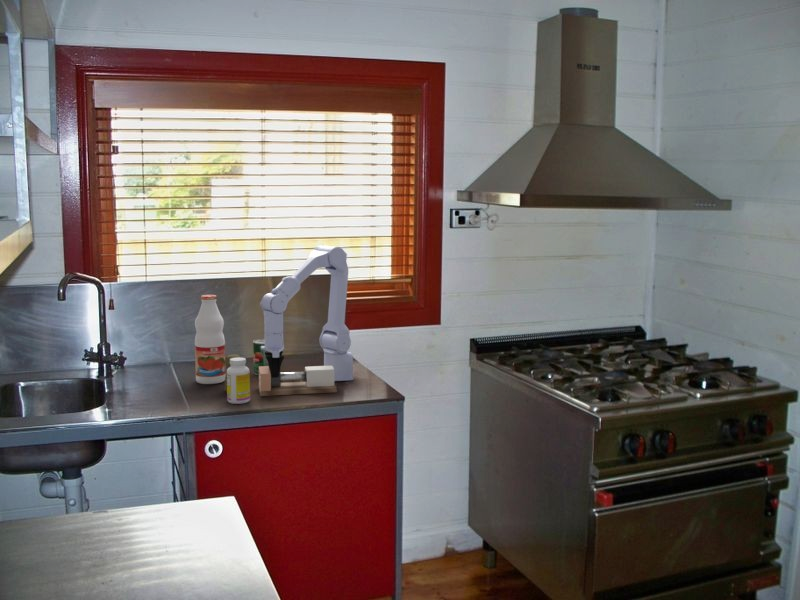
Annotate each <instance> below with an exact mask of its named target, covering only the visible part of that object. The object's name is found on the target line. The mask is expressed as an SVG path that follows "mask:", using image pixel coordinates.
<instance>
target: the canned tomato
mask: <svg viewBox="0 0 800 600" xmlns="http://www.w3.org/2000/svg"><path fill="white" fill-rule="evenodd" d="M252 346H253V347H252V351H253V352H252V354H253V374H254V375H256V376H259V366H269V364H268V361H267V359H266V356H265V353H264V351H266V350H261V346H265V338H259V339H258V338H257V339H253V340H252Z"/></svg>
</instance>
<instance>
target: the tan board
mask: <svg viewBox="0 0 800 600" xmlns="http://www.w3.org/2000/svg"><path fill="white" fill-rule="evenodd" d="M257 384H258V388H257V389H258V391H259V396H260V397H266V396H267V397H268V396H269V397H270V396H283V395H284V396H285V395H288V396H290V395H303V394H304V395H306V394H307V395H310V394H328V393H337V392H338V389H337V388H338V387H337V386H336V384H335V383H334V386H316V387H307V386H306V384H305V382H291V383H281V386H277V387H271V391H261V389H260V385H259V382H258V383H257Z"/></svg>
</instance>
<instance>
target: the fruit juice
mask: <svg viewBox="0 0 800 600" xmlns="http://www.w3.org/2000/svg"><path fill="white" fill-rule="evenodd" d="M217 299H218V297H217V295H215V294H202V295H201V296H200V301H201V305H200V308H199V310H198V313H197V316H196V318H195V319H194V327H195V331H196V332H195V337H194V356H195V360H194V361H195V362H194V363H195V365H194V366H195V381H196V383H198V384H201V385H215V384H220V383H223V382H225V377H226V364H225V358H226V341H225V339H226V338H225V335H224V332H223V329H224V325H225V321H224V318H223V316H222V314H221V313H220V310H219V307H218V305H217V303H216V302H217Z"/></svg>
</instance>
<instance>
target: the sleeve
mask: <svg viewBox="0 0 800 600" xmlns="http://www.w3.org/2000/svg"><path fill="white" fill-rule="evenodd" d="M304 372H307V382H305V384H306V386H307V387H316V386H334V384H335V381H334V368H333V366H324V365H314V366H313V365H312V366H305V367H304Z"/></svg>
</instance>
